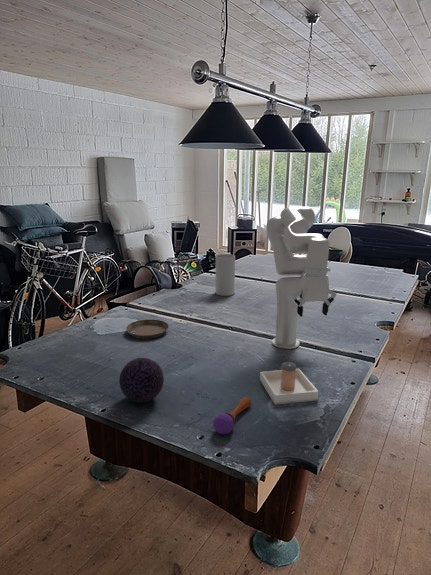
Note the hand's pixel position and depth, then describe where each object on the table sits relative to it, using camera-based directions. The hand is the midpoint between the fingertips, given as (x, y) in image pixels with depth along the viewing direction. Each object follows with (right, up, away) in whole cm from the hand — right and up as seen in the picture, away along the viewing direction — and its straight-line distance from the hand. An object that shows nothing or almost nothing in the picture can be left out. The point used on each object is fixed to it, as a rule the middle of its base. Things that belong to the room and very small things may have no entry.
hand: (312, 314), depth 157 cm
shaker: (-11, -26, -7) cm, 29 cm away
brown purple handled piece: (-31, -32, -25) cm, 51 cm away
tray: (-11, -27, -6) cm, 30 cm away
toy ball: (-62, -29, -13) cm, 70 cm away
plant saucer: (-70, -12, +47) cm, 86 cm away
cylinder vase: (-31, +6, +114) cm, 118 cm away
